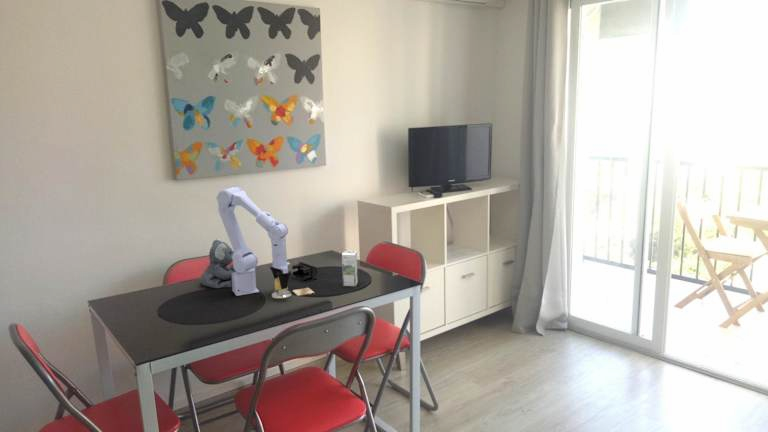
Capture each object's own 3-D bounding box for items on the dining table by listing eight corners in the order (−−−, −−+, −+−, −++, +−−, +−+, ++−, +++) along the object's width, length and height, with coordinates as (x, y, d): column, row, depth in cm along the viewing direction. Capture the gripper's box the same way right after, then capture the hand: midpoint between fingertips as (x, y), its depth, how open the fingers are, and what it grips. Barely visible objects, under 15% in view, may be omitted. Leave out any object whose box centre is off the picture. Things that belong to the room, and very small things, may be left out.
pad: (298, 296, 221) (298, 295, 221) (292, 291, 227) (292, 290, 227) (314, 293, 224) (314, 292, 224) (308, 288, 231) (308, 287, 230)
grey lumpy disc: (275, 300, 217) (274, 292, 217) (269, 294, 224) (268, 287, 224) (294, 296, 221) (293, 289, 220) (287, 290, 228) (287, 284, 227)
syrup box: (357, 282, 237) (357, 250, 234) (355, 287, 232) (355, 254, 229) (344, 282, 238) (343, 250, 235) (342, 286, 232) (341, 254, 229)
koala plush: (245, 286, 234) (242, 242, 230) (202, 292, 228) (198, 247, 224) (240, 275, 250) (237, 234, 246) (199, 280, 243) (196, 238, 239)
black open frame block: (318, 279, 243) (317, 264, 241) (305, 283, 238) (304, 268, 237) (305, 274, 250) (304, 260, 248) (292, 278, 245) (291, 263, 244)
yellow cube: (289, 289, 221) (288, 278, 220) (277, 291, 219) (276, 280, 218) (285, 285, 225) (284, 275, 224) (273, 287, 223) (272, 276, 222)
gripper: (294, 256, 215) (296, 289, 217) (283, 248, 227) (285, 279, 230) (277, 259, 211) (279, 292, 214) (266, 250, 224) (268, 282, 227)
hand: (281, 285), depth 222 cm, fingers open, 7 cm apart
